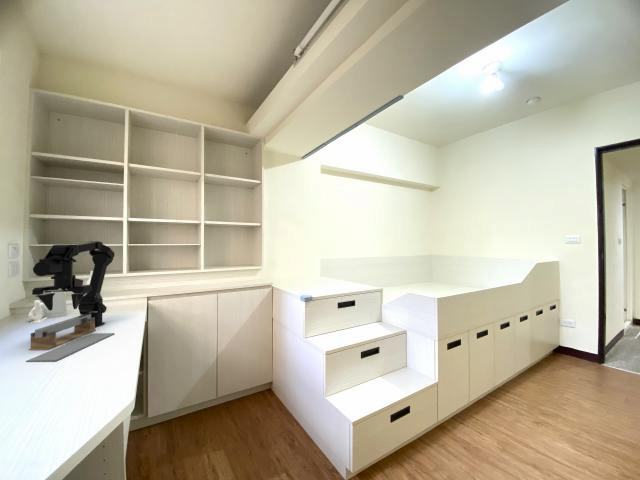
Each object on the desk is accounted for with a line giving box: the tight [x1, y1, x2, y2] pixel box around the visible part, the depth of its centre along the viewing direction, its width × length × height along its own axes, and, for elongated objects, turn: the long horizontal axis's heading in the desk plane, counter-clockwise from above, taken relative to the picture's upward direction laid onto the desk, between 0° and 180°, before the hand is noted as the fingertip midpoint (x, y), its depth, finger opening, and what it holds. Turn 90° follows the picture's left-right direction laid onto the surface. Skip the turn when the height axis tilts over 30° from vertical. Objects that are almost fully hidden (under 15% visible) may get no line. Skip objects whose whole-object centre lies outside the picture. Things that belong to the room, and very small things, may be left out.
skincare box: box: [43, 292, 68, 319], centre depth 140 cm, size 8×6×15 cm
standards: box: [28, 317, 97, 351], centre depth 107 cm, size 22×7×6 cm, turn 2°
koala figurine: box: [28, 299, 48, 324], centre depth 131 cm, size 8×7×12 cm
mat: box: [25, 332, 115, 363], centre depth 100 cm, size 10×26×1 cm, turn 2°
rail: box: [34, 314, 91, 338], centre depth 107 cm, size 22×3×3 cm, turn 2°
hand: (63, 309), depth 108 cm, fingers open, 9 cm apart
